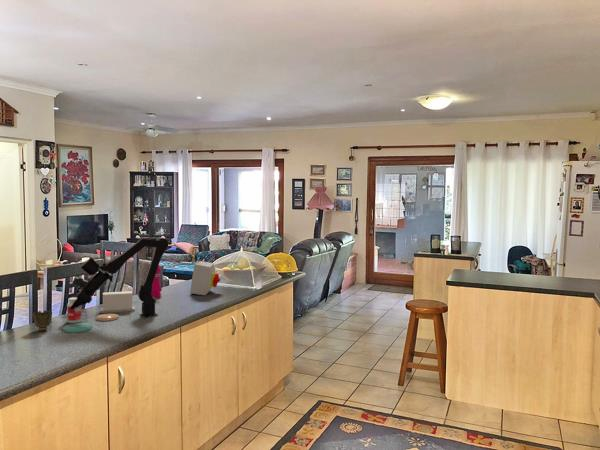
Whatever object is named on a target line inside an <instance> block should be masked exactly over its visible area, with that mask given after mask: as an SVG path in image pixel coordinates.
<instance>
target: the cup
mask: <svg viewBox="0 0 600 450" xmlns="http://www.w3.org/2000/svg"><path fill="white" fill-rule="evenodd" d="M52 316H53V311H50V310H49V309H48V310H43V312H42V311H41V310H39V311H35V312H33V313H32V318H33V323H34V326H36V328H37V330H38V331H39V332H44V331H47V330H48V327H49V326H50V325H51V322H52V318H53V317H52Z"/></svg>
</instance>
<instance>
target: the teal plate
mask: <svg viewBox="0 0 600 450" xmlns="http://www.w3.org/2000/svg"><path fill="white" fill-rule="evenodd" d="M93 328H94V325H93V324H92V323H89V322H78V323H69V324H66V325H64V326H63V327H62V332H64V333H69V334H70V333H71V334H74V333H75V334H76V333H78V334H79V333H85V332H87V331H91V330H92V329H93Z"/></svg>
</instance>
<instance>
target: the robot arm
mask: <svg viewBox="0 0 600 450" xmlns="http://www.w3.org/2000/svg"><path fill="white" fill-rule="evenodd" d="M145 247H149V248H153V253H152V258H151V260H150V264H149V267H148V270H147V273H146V275H145V278H144V281H143V282H142V284H141V283H139V284H138V288H137V289H136V292H137V297H138V299H139V301H141V313H139V314H138V315H139V316H141V317H144V318H150V317H151V318H152V317H154V316H158V313H156V301H157V300H156V299H155V298H154V297H153V296H152V295H151V294H152V284H153V281H154V278H155V275H156V272H157V269H158V266H160V262H161V260H162V257H163V256H164V254H165V253H166V252H167V249H168V247H169V241H168V240H167V239H166V238H165V237H163V236H159V237H157V238H153V237H151V238H150V237H149V238H148V237H147V238H146V237H141V238H139V240H137V241H136V242H134V244H133V245H131V246H129V248H128V249H126V250H125V251H123V252H122V253H121V254H120V255H118V256H115V257H113V258H111V259H109V260H108V261H107V262H104V263H100V264H99V262H97V261H96V260H95V259H94V258H93V257H92V256H91V257H90V258H89V259H87V260H85V261H84V262H83V263H82V264H81V265H80V267H79V268H80V269H81V270H82V271H83V272H84V273H86V274H87V275H88V276H92V277H91V278H88V279H84V278H83V277H82V278H81V277H80V276H79V277H78V276H74V278H73V281H72V283H71V284H72V285H74V286H78V287H77V294H76V296H75V297H77V299H76V300H75V302H74V303H73V304H72V306H71V307H70V308H71V309H74V308H76V307H78V306H81V305H82V306H83V305H85V304H90V303H91V302H92V300H93V296H94V294H95V293H97V291H99V290H100V289H101V287H103V285H104V284H105V283H106V282H107V281H108V280H109V281H110V282H113V278H114V275H115V274H116V273H118V271H119V270H120V269H121V268H122V267H123V266H124V264H125V263H126V262H127V261H128V260H129V259H131V258H132V257H134V256H135V255H136V254H137V253H138V252H140V251H141V250H142V249H143V248H145Z"/></svg>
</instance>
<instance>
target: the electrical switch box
mask: <svg viewBox="0 0 600 450" xmlns="http://www.w3.org/2000/svg"><path fill="white" fill-rule="evenodd" d="M216 272H217V271H216V266H215V263H213V262H207V261H203V260H196V262H195V263H194V265H193V272H192V277H191V283H190V290H189V294H193V295H199V296H204V295H205V296H207V294H208V293H210V291H211V290H212V288H217V287H218V283H220V282H221V277H219V276H220V275H219V273H216Z"/></svg>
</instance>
